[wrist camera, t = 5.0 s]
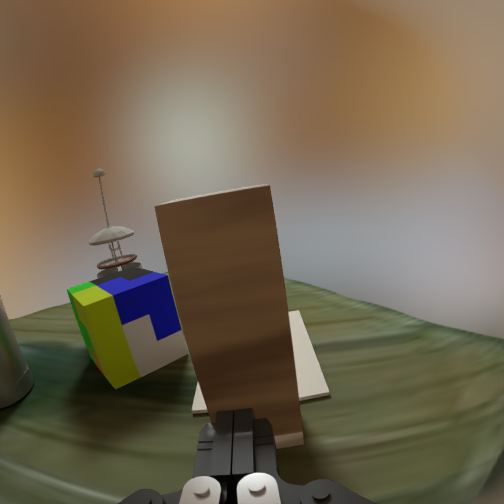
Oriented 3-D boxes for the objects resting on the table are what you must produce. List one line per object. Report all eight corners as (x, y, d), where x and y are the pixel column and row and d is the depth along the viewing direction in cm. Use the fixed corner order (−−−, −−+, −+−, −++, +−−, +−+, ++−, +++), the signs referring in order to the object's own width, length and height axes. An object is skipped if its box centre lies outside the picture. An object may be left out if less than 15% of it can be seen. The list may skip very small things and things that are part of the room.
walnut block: (304, 444, 20) (269, 185, 16) (222, 454, 20) (154, 206, 16) (296, 407, 24) (264, 183, 20) (225, 416, 24) (173, 200, 20)
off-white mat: (329, 395, 25) (329, 391, 25) (192, 413, 25) (191, 410, 25) (299, 313, 42) (298, 310, 42) (211, 326, 43) (211, 323, 43)
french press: (104, 332, 45) (65, 173, 40) (106, 309, 56) (75, 179, 50) (161, 316, 49) (127, 158, 43) (153, 296, 59) (126, 167, 54)
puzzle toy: (188, 354, 36) (167, 275, 34) (115, 389, 30) (83, 306, 27) (152, 332, 43) (133, 266, 41) (91, 358, 37) (66, 289, 35)
